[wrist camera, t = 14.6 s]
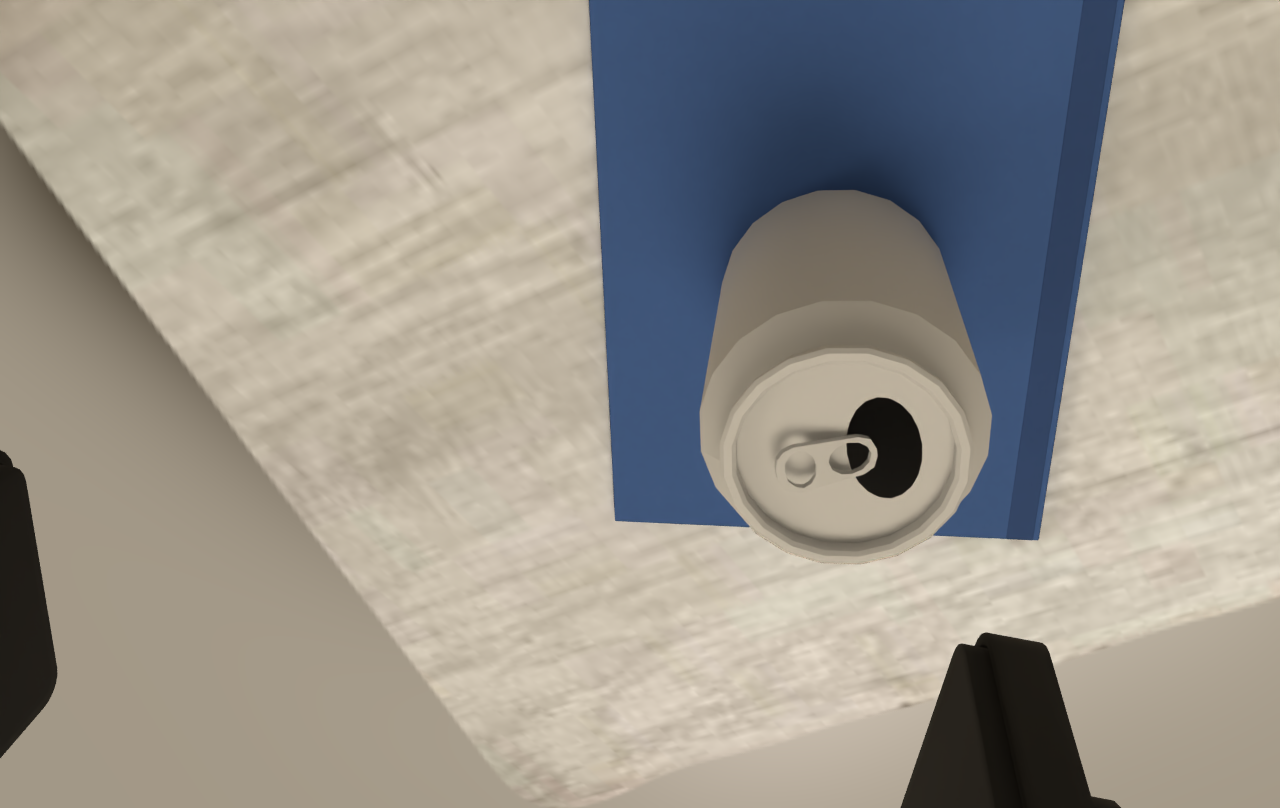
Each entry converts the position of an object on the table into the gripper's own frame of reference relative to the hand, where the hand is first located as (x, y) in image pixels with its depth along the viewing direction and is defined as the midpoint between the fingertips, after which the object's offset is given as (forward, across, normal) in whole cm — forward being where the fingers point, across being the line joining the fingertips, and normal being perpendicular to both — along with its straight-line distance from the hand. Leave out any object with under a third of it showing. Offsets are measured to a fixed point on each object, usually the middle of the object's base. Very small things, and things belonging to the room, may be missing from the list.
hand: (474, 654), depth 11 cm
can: (+28, -5, +6) cm, 29 cm away
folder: (+28, -6, +6) cm, 29 cm away
